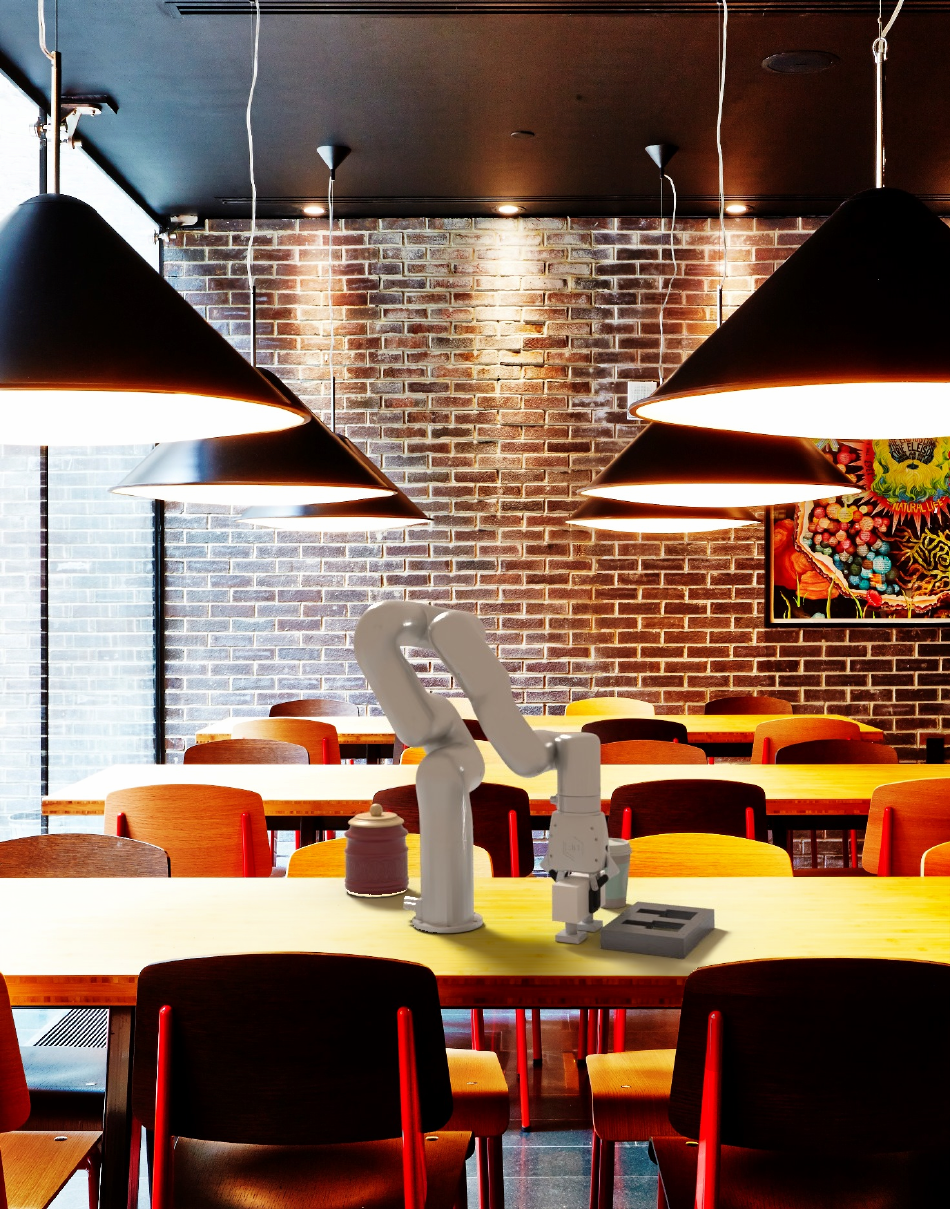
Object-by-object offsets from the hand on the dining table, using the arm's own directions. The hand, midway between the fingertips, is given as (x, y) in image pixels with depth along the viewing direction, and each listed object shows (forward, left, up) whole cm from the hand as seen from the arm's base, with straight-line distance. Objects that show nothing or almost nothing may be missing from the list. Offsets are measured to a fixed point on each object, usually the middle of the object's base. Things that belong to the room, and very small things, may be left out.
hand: (579, 909), depth 192 cm
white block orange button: (0, 0, -4) cm, 4 cm away
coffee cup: (-2, +21, -4) cm, 22 cm away
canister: (-49, +13, -4) cm, 51 cm away
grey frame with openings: (+13, +3, -4) cm, 14 cm away
